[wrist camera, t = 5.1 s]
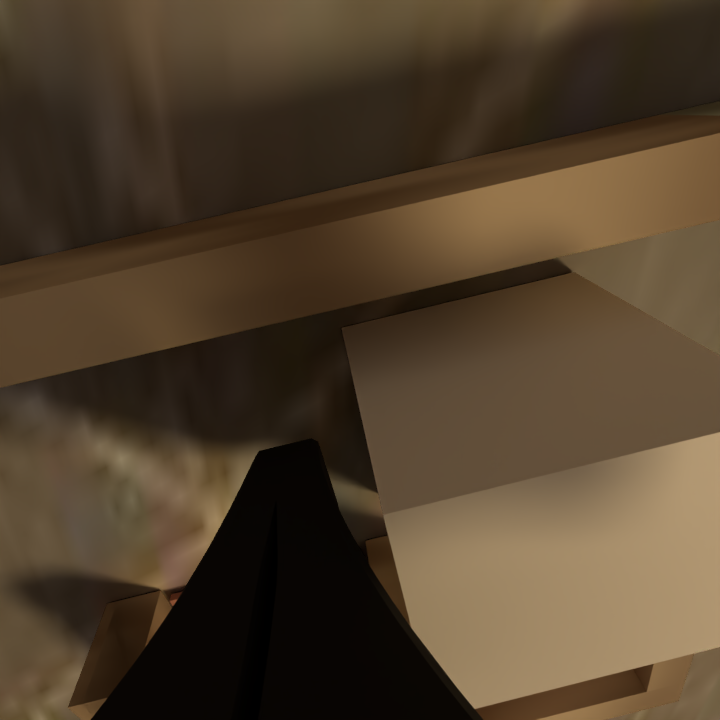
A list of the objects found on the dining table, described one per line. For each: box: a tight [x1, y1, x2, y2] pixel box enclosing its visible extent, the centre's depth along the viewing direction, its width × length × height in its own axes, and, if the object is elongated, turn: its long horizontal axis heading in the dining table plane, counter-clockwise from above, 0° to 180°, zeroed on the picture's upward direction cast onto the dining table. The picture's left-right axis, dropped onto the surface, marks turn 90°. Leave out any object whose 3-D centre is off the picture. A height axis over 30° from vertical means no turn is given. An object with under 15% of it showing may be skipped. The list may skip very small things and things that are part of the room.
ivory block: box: [341, 272, 720, 709], centre depth 8 cm, size 5×5×5 cm
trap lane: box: [0, 101, 720, 720], centre depth 11 cm, size 21×17×3 cm
